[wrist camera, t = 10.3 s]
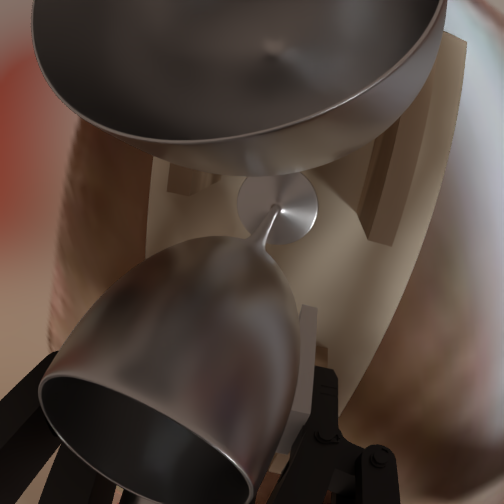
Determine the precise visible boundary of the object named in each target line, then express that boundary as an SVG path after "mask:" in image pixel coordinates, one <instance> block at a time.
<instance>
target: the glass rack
mask: <svg viewBox="0 0 504 504" xmlns="http://www.w3.org/2000/svg"><path fill="white" fill-rule="evenodd" d="M466 48H467V42H466V41H464V40H462V39H460V38H457V37H455V36H453V35H451V34H449V33H446V32H444V31H443V35H442V39H441V43H440V47H439V50H438V53H437V57H436V59H435V62H434V65H433V67H432V69H431V72H430V74H429V76H428V78H427V80H426V82H425V84H424V85H423V87H422V89H421V90H420V92H419V94H418V95H417V97H416V98H415V99H414V101H413V102H412V103H411V105H410V106H409V107H408V108H407V109H406V110H405V112H404V113H403V114H402V115H401V116H400V117H399V118H398V119H397V120H396V121H395V122H394V123H393V124H392V125H391V126H390V127H389V128H388V129H387V130H385V131H384V132H383V133H382V134H380V135H379V136H378V137H376V138H375V139H374V140H372V141H371V142H369V143H368V144H366V145H365V146H363V147H361V148H360V149H358V150H356V151H354V152H352V153H351V154H349V155H347V156H344V157H342V158H340V159H338V160H335V161H333V162H330V163H328V164H325V165H322V166H319V167H316V168H312V169H308V170H304V171H300V173H302V174H303V175H304V176H305V177H306V178H307V179H308V180H309V181H310V182H311V184H312V185H313V187H314V189H315V191H316V194H317V198H318V215H317V218H316V221H315V223H314V225H313V227H312V228H311V230H310V231H309V232H308V233H307V234H306V235H305V236H304V237H302V238H301V239H299V240H297V241H295V242H293V243H290V244H285V245H274V244H268V243H266V247H265V249H266V252H267V253H268V254H269V255H270V256H271V257H272V258H273V259H274V260H275V262H276V263H277V264H278V266H279V267H280V269H281V270H282V272H283V273H284V275H285V277H286V279H287V281H288V283H289V285H290V288H291V290H292V293H293V295H294V298H295V302H296V307H297V312H298V316H299V314H300V310H301V307H302V304H304V305H308V306H312V307H316V308H318V313H317V333H316V350H315V366H320V367H324V368H329V369H333V370H334V372H335V373H336V375H337V377H338V418H339V416H340V414H341V413H342V411H343V409H344V408H345V406H346V405H347V403H348V401H349V399H350V398H351V396H352V394H353V393H354V391H355V389H356V387H357V386H358V384H359V382H360V380H361V378H362V377H363V375H364V373H365V371H366V369H367V367H368V366H369V364H370V362H371V360H372V358H373V356H374V354H375V352H376V350H377V348H378V346H379V344H380V342H381V340H382V338H383V336H384V334H385V332H386V330H387V328H388V326H389V324H390V321H391V319H392V317H393V315H394V313H395V311H396V308H397V306H398V304H399V302H400V299H401V297H402V295H403V292H404V290H405V287H406V285H407V283H408V280H409V278H410V275H411V273H412V270H413V268H414V265H415V262H416V260H417V257H418V255H419V252H420V249H421V246H422V244H423V241H424V238H425V235H426V232H427V229H428V226H429V223H430V220H431V217H432V214H433V211H434V208H435V204H436V201H437V198H438V194H439V191H440V187H441V184H442V180H443V176H444V173H445V169H446V165H447V161H448V157H449V153H450V148H451V144H452V139H453V135H454V130H455V125H456V120H457V115H458V109H459V103H460V97H461V91H462V84H463V76H464V68H465V59H466ZM246 178H247V177H245V176H228V175H219V174H213V173H207V172H202V171H198V170H194V169H190V168H186V167H183V166H179V165H176V164H173V163H170V162H168V161H165V160H163V159H160V158H158V157H155V156H153V164H152V173H151V183H150V193H149V205H148V218H147V233H146V251H145V260H146V259H147V258H149V257H150V256H152V255H154V254H156V253H158V252H160V251H162V250H164V249H166V248H168V247H170V246H172V245H175V244H178V243H181V242H184V241H186V240H190V239H195V238H200V237H207V236H231V237H237V238H241V239H246V238H248V237H249V236H250V235H251V234H250V233H249V232H248V231H247V230H246V228H245V227H244V226H243V224H242V222H241V220H240V218H239V215H238V211H237V196H238V192H239V189H240V187H241V185H242V183H243V182H244V180H245V179H246ZM290 452H291V450H290ZM290 452H289V453H288V455H286V454H281V453H276V452H275V455H274V457H273V459H272V461H271V464H270V466H269V469H268V471H269V472H273V473H278V474H282V473H281V472H282V470H283V468H284V467H285V465H286V464H287V462H288V460H289V458H290Z"/></svg>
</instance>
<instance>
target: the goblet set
mask: <svg viewBox="0 0 504 504" xmlns="http://www.w3.org/2000/svg"><path fill="white" fill-rule="evenodd" d="M446 9H447V0H33V5H32V16H31V32H32V41H33V47H34V52H35V55H36V59H37V62H38V65H39V67H40V70H41V72H42V74H43V76H44V78H45V80H46V81H47V83H48V85H49V86H50V88H51V89H52V90H53V92H54V93H55V94H56V96H57V97H58V98H59V99H60V100H61V101H62V102H63V103H64V104H65V105H66V106H67V107H68V108H69V109H70V110H72V111H73V112H74V113H75V114H77V115H78V116H79V117H81V118H82V119H84V120H85V121H87V122H89V123H90V124H92V125H94V126H95V127H97V128H99V129H101V130H102V131H104V132H106V133H108V134H110V135H112V136H114V137H115V138H117V139H119V140H121V141H123V142H125V143H127V144H129V145H131V146H133V147H135V148H137V149H139V150H141V151H144V152H146V153H148V154H150V155H153V156H155V157H158V158H160V159H163V160H165V161H168V162H170V163H173V164H176V165H179V166H183V167H186V168H190V169H194V170H198V171H202V172H207V173H213V174H219V175H228V176H245V177H247V178H246V179H245V180H244V182H243V183H242V185H241V187H240V189H239V192H238V196H237V211H238V215H239V218H240V220H241V222H242V224H243V226H244V227H245V228H246V230H247V231H248V232H249V233H250V234H251V235H250V236H249V237H248V238H246V239H241V238H237V237H231V236H207V237H200V238H195V239H190V240H186V241H184V242H181V243H178V244H175V245H172V246H170V247H168V248H166V249H164V250H162V251H160V252H158V253H156V254H154V255H152V256H150V257H149V258H147V259H146V260H144V261H143V262H141V263H140V264H138V265H137V266H135V267H134V268H132V269H131V270H130V271H129V272H127V273H126V274H125V275H124V276H122V277H121V278H120V279H119V280H117V281H116V282H115V283H114V284H113V285H112V286H111V287H110V288H109V289H108V290H107V291H106V292H105V293H104V294H103V295H102V296H101V297H100V298H99V299H98V300H97V301H96V302H95V303H94V304H93V306H92V307H91V308H90V309H89V310H88V311H87V313H86V314H85V315H84V316H83V318H82V319H81V320H80V322H79V323H78V324H77V326H76V327H75V328H74V330H73V331H72V332H71V334H70V335H69V337H68V338H67V340H66V341H65V343H64V344H63V345H62V347H61V348H60V350H59V352H58V353H57V355H56V356H55V358H54V359H53V361H52V362H51V364H50V366H49V367H48V369H47V371H46V372H45V374H44V376H43V378H42V380H41V382H40V384H39V388H38V397H39V402H40V405H41V408H42V410H43V413H44V415H45V417H46V418H47V420H48V422H49V424H50V425H51V427H52V428H53V430H54V431H55V432H56V434H57V435H58V436H59V437H60V439H61V440H62V441H63V442H64V443H65V444H66V445H67V446H68V448H69V449H70V450H71V451H72V452H73V453H75V454H76V455H77V456H78V457H79V458H80V459H81V460H82V461H83V462H85V463H86V464H87V465H88V466H90V467H91V468H92V469H93V470H95V471H96V472H97V473H99V474H100V475H102V476H103V477H105V478H106V479H108V480H109V481H111V482H113V483H114V484H116V485H118V486H119V487H121V488H123V489H124V490H123V493H122V496H121V499H120V502H119V504H255V500H256V495H257V490H258V488H259V486H260V484H261V482H262V480H263V478H264V476H265V474H266V472H267V470H268V468H269V466H270V464H271V461H272V459H273V457H274V455H275V452H276V450H277V448H278V445H279V443H280V440H281V438H282V435H283V433H284V430H285V427H286V424H287V421H288V418H289V415H290V412H291V408H292V405H293V401H294V396H295V392H296V387H297V382H298V374H299V366H300V347H301V338H300V324H299V316H298V312H297V307H296V302H295V298H294V295H293V293H292V290H291V288H290V285H289V283H288V281H287V279H286V277H285V275H284V273H283V272H282V270H281V269H280V267H279V266H278V264H277V263H276V262H275V260H274V259H273V258H272V257H271V256H270V255H269V254H268V253H267V252H266V249H265V247H266V243H268V244H274V245H285V244H290V243H293V242H295V241H297V240H299V239H301V238H302V237H304V236H305V235H306V234H307V233H308V232H309V231H310V230H311V228H312V227H313V225H314V223H315V221H316V218H317V215H318V198H317V194H316V191H315V189H314V187H313V185H312V184H311V182H310V181H309V180H308V179H307V178H306V177H305V176H304V175H303V174H302V173H300V171H304V170H308V169H312V168H316V167H319V166H322V165H325V164H328V163H330V162H333V161H335V160H338V159H340V158H342V157H344V156H347V155H349V154H351V153H352V152H354V151H356V150H358V149H360V148H361V147H363V146H365V145H366V144H368V143H369V142H371V141H372V140H374V139H375V138H376V137H378V136H379V135H380V134H382V133H383V132H384V131H385V130H387V129H388V128H389V127H390V126H391V125H392V124H393V123H394V122H395V121H396V120H397V119H398V118H399V117H400V116H401V115H402V114H403V113H404V112H405V110H406V109H407V108H408V107H409V106H410V105H411V103H412V102H413V101H414V99H415V98H416V97H417V95H418V94H419V92H420V90H421V89H422V87H423V85H424V84H425V82H426V80H427V78H428V76H429V74H430V72H431V69H432V67H433V65H434V62H435V59H436V57H437V53H438V50H439V47H440V43H441V39H442V35H443V30H444V24H445V17H446Z"/></svg>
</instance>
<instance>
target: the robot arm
mask: <svg viewBox="0 0 504 504" xmlns="http://www.w3.org/2000/svg"><path fill="white" fill-rule="evenodd" d="M317 313H318V308H316V307H312V306H308V305H304V304H302V307H301V310H300V314H299V324H300V338H301V347H300V366H299V374H298V382H297V387H296V392H295V396H294V401H293V405H292V408H291V412H290V415H289V418H288V421H287V424H286V427H285V430H284V433H283V435H282V438H281V440H280V443H279V445H278V448H277V450H276V453H281V454H286V455H288V453H289V452H290V450H291V452H290V458H289V460H288V462H287V464H286V465H285V467H284V468H283V470H282V472H281V473H282V474H281V476H280V478H279V480H278V482H277V484H276V486H275V488H274V490H273V492H272V494H271V496H270V498H269V499H268V501H267V503H266V504H322V503H323V500H324V498H325V495H326V492H327V490H330V491H332V498H331V504H400V494H399V483H398V474H397V465H396V459H395V456H394V454H393V453H392V451H391V450H390V449H388V448H387V447H385V446H382V445H378V444H376V445H370V446H368V447H366V448H365V449H364V448H362V447H359V446H357V445H355V444H352V443H351V442H349V441H347V440H346V439H345V438H344V437H343V435H342V433H341V431H340V430H339V428H338V377H337V375H336V373H335V372H334V370H333V369H329V368H324V367H320V366H315V350H316V333H317ZM58 352H59V351H55V352H52V353H51V354H49V355H48V356H47V357H45V358H44V359H43V360H42V361H41V362H40V363H39V364H38V365H37V366H36V367H35V368H34V369H33V370H32V371H31V372H29V374H27V375H26V376H25V377H24V378H23V379H22V380H21V381H20V382H19V383H18V384H17V385H16V386H15V387H14V388H13V389H12V390H11V391H10V392H9V393H8V394H7V395H6V396H5V397H4V398H3V399H2V400H1V401H0V504H15V503H16V502H17V500H18V499H19V498H20V496H21V495H22V494H23V492H24V491H25V490H26V488H27V487H28V486H29V484H30V483H31V482H32V480H33V479H34V478H35V477H36V475H37V474H38V472H39V471H40V470H41V469H42V467H43V466H44V465H45V464H46V462H47V461H48V460H49V458H50V457H51V456H52V454H53V453H54V452H55V450H56V449H57V448H58V447H59V446H60V448H59V450H58V453H57V455H56V458H55V460H54V463H53V465H52V468H51V470H50V473H49V475H48V478H47V481H46V483H45V486H44V489H43V492H42V494H41V497H40V500H39V503H38V504H112V501H113V497H114V493H115V489H116V484H114V483H113V482H111V481H109V480H108V479H106V478H105V477H103V476H102V475H100V474H99V473H97V472H96V471H95V470H93V469H92V468H91V467H90V466H88V465H87V464H86V463H85V462H83V461H82V460H81V459H80V458H79V457H78V456H77V455H76V454H75V453H73V452H72V451H71V450H70V449H69V448H68V446H67V445H66V444H65V443H64V442H63V441H62V440H61V439H60V437H59V436H58V435H57V434H56V432H55V431H54V430H53V428H52V427H51V425H50V424H49V422H48V420H47V418H46V417H45V415H44V413H43V410H42V408H41V405H40V402H39V397H38V388H39V384H40V382H41V380H42V378H43V376H44V374H45V372H46V371H47V369H48V367H49V366H50V364H51V362H52V361H53V359H54V358H55V356H56V355H57V353H58ZM60 444H61V445H60Z"/></svg>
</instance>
